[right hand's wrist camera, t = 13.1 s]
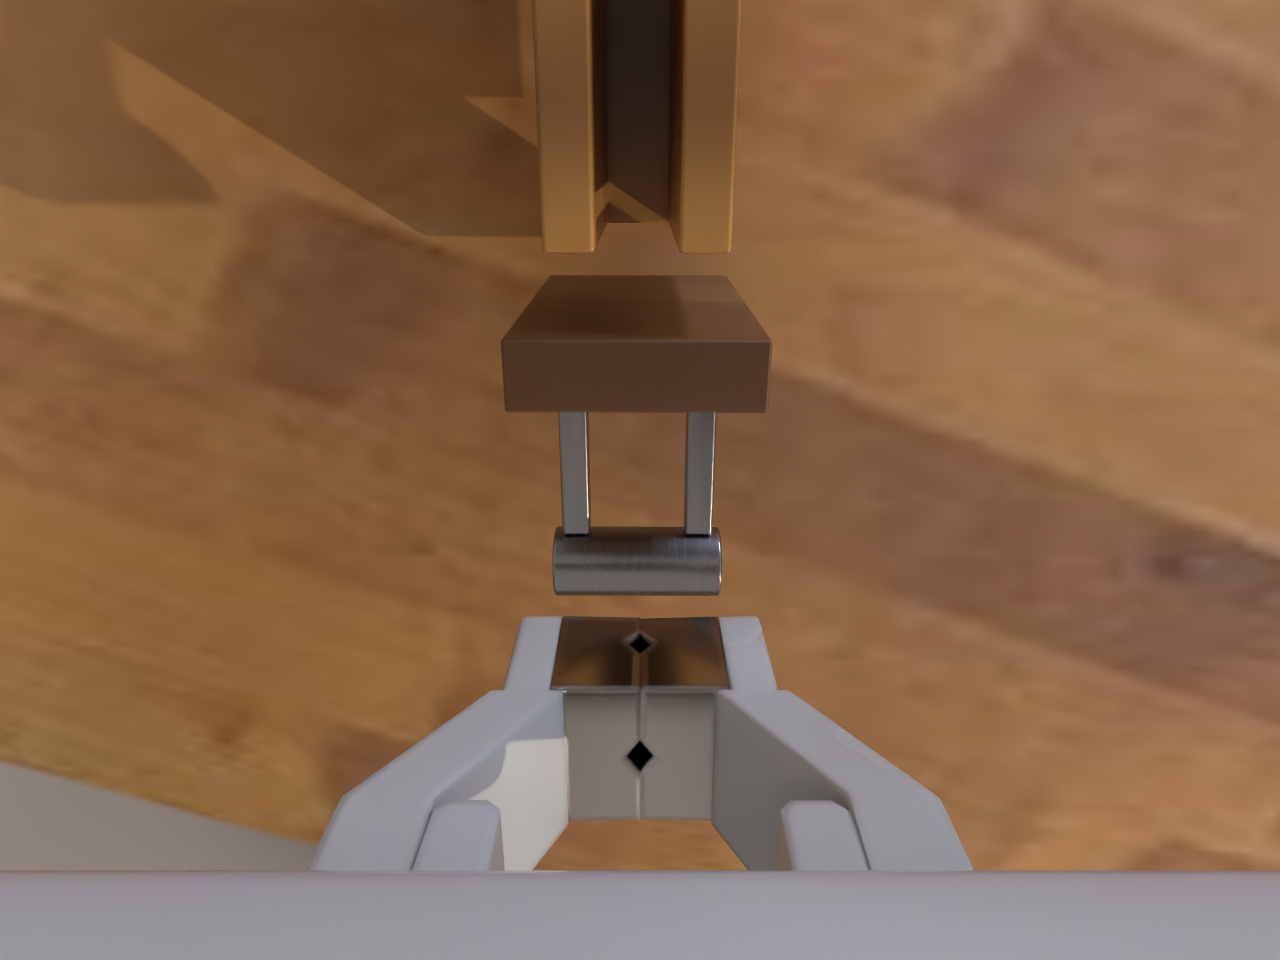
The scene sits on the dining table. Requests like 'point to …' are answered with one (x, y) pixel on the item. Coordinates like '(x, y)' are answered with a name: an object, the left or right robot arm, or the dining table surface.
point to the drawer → (636, 305)
